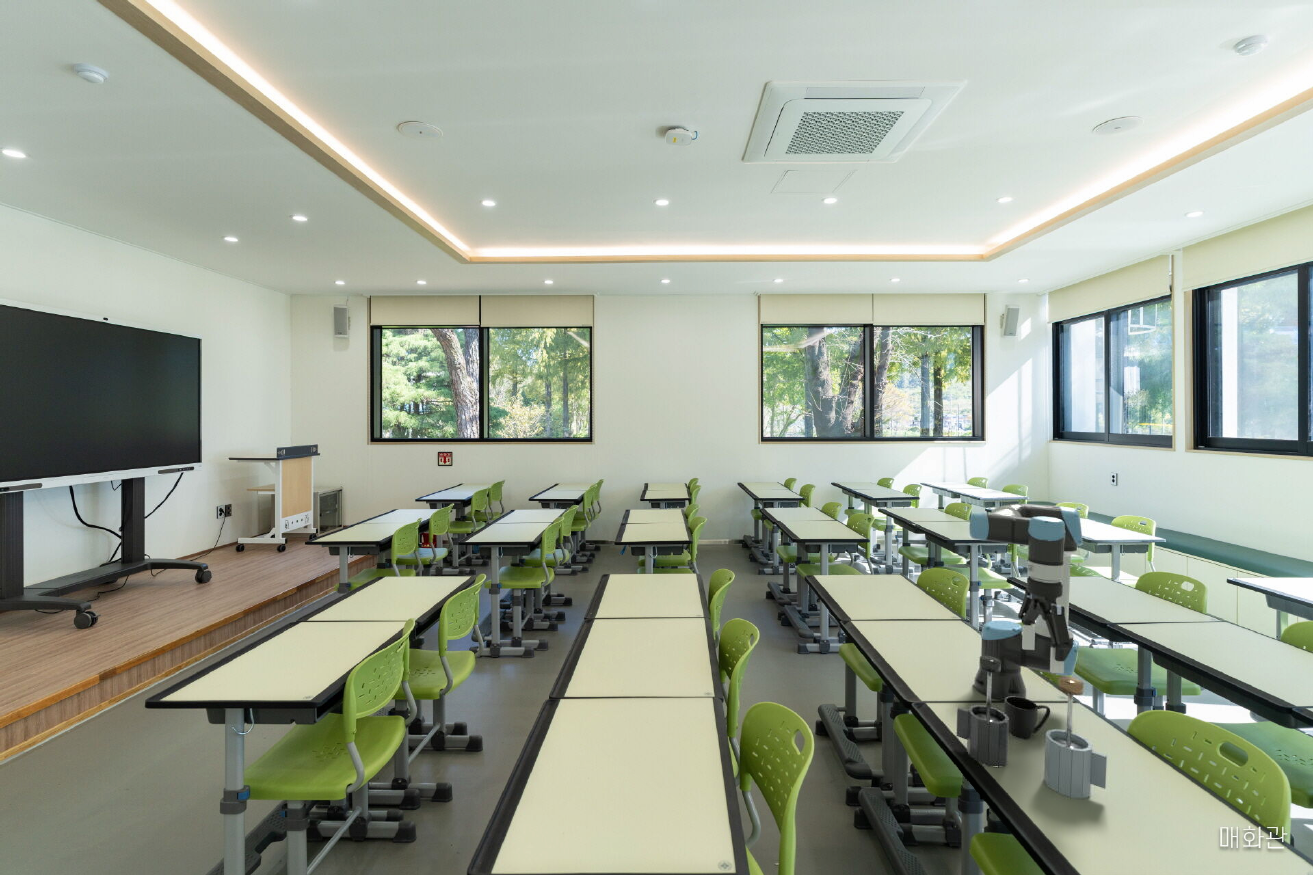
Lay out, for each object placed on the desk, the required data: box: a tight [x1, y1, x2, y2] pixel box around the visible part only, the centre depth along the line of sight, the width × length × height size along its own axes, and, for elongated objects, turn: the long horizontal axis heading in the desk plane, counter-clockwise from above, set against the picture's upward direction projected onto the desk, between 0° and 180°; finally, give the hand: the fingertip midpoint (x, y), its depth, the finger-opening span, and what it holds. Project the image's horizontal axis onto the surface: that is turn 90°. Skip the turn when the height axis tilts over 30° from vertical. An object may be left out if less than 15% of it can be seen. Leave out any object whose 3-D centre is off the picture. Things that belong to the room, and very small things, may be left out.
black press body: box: [956, 704, 1010, 768], centre depth 157 cm, size 9×12×12 cm
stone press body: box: [1043, 728, 1108, 800], centre depth 143 cm, size 9×12×12 cm
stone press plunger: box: [1054, 675, 1084, 749], centre depth 143 cm, size 6×6×18 cm
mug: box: [1003, 696, 1051, 741], centre depth 167 cm, size 8×12×10 cm
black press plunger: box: [976, 655, 1001, 722], centre depth 156 cm, size 6×6×18 cm
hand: (1041, 660), depth 145 cm, fingers open, 13 cm apart
